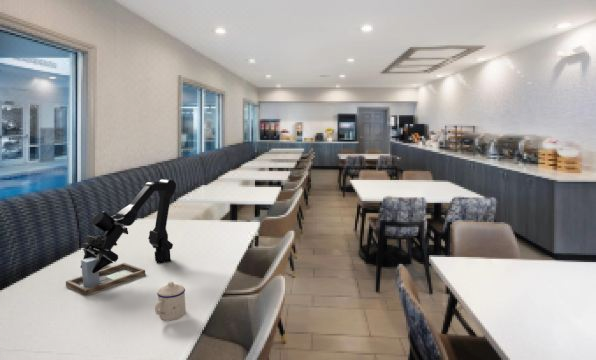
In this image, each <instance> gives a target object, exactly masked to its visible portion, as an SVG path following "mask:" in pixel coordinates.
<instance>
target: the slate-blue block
mask: <svg viewBox="0 0 596 360" xmlns="http://www.w3.org/2000/svg"><path fill="white" fill-rule="evenodd" d="M97 262H98V259H96V258H94V257H90V258H87V259H83V258H82V259H80V267H81V266H82V268H81V273H82V274H81V276H83V282H82V284H83V286H82V287H84V288H87V289H88V288H91V287H94V286H97V285H100V279H99V271H97V272H96V273H92V270H93V269H94V267H95V265H96V264H97Z"/></svg>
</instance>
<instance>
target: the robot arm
mask: <svg viewBox="0 0 596 360" xmlns="http://www.w3.org/2000/svg"><path fill="white" fill-rule="evenodd" d="M176 189H177V183H176V182H175V181H174V180H173V179H165V178H162V179H160V180H159V181H148V182H146V183H145V184H144V187H143V188H142V189H141V190H140V191H139V192H138V194H137V195H136V196H135V197H134V198H133V199H132V201H131V202H130V203H129V204H128V205H127V206H125V207H123V208H122V209H121V210H119V211H118V212H117V213H116V214H115V215H112V216H111V215H110V214H108V213H107V212H106V211H101V212H100V213H98V214H97V215H95V216H94V217H93V218H92V219H91V225H93V226H94V227H95V228H97V229H98V230H100V231H101V232H103V233H104V234H103V235H102V234H100V235H96V236H91V235H86V236H85V240H83V241H84V242H83V245H82V248H83V249H82V251H83V253H84V255H83V258H82V260H83V259H87V258H90V257H94V258H96V257H97V256H95V255H98V254H99V260H98V262H97V264H96V265H95V267H94V269H93V270H92V273H96V272H97V271H99V270H103V269H105V267H107V266H109V265H111V264H113V263H116V262H117V261H118V260H119V255H118V254H117V253H115V252H114V251H113V250H112V249H113V248H114V246H115V247H117V246H118V243H117V242H118V241H119V240H120V238H121V236H122V235H123V234H125V235H128V234H129V230H128V227H129V226H132V225H133V224H134V223H135V221H136V219H137V218H138V213H139V211H140V210H141V208H142V207H143V206H144V205H145V203H146V202H147V201H148V200H149V199H150V197H151V196H152V195H153V194H154V192H157V193H158V196H159V199H158V207H157V213H156V218H155V219H156V220H155V226H154V228H153V230H149V232H148V233H149V235H148V238H147V239H148V242H149V244H150V245H151V246H152V248H153V249H155V250H154V260H155V261H154V262H156V264H162V263H163V264H164V263H169V262H172V259H171V250H172V249H173V246H174V243H172V242H171V241H169V233H168V231H167V224H168V223H167V222H168V218H169V210H170V204H171V203H170V202H171V199H172V197H173V196H174V195H175V192H176ZM123 226H125V227H123ZM100 254H101V255H100ZM80 268H81V269H82V266H81V265H80Z"/></svg>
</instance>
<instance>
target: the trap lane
mask: <svg viewBox="0 0 596 360" xmlns="http://www.w3.org/2000/svg"><path fill="white" fill-rule="evenodd" d="M122 269H125V270H127V271H129V272H131V273H129V274H125V275H126V276H123V277H120V278H117V279H115V280H111V279H108V278H106V277H105V276H103V275H108V274H110V273H113V272H116V271H118V270H122ZM145 275H146V270H145V269H144V268H140V267H137V266H136V265H135V266H134V265H132V264H129V263H126V262H122V263H119V264H116V265H112V266H109V267H107V268H102V269H100V270H99V279H100V285H97V286H94V287H91V288H87V287H85V286H82V285H81V284H79V283H83V276H82V275H81V276H78V277H74V278H72V279H68V280H66V281H65V287H68V288H69V289H72V290H74V291H76V292H78V293H80V294H82V295H84V296H90V295H92V294H95V293H97V292H100V291H103V290H106V289H108V288H109V289H110V288H112V287H114V286H118V285H120V284H123V283H125V282H128V281H131V280H134V279H136V278H139V277H142V276H145Z"/></svg>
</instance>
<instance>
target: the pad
mask: <svg viewBox="0 0 596 360" xmlns="http://www.w3.org/2000/svg"><path fill="white" fill-rule="evenodd" d="M126 275H127V274H125V273H121V272H119V271H117V272H114V273H111V274H109V275H108V274H107V275H105V276H104V277H106V278H108V279H111V280H115V279H117V278H120V277H123V276H126Z"/></svg>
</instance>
